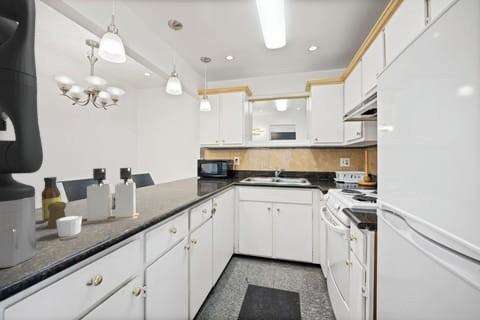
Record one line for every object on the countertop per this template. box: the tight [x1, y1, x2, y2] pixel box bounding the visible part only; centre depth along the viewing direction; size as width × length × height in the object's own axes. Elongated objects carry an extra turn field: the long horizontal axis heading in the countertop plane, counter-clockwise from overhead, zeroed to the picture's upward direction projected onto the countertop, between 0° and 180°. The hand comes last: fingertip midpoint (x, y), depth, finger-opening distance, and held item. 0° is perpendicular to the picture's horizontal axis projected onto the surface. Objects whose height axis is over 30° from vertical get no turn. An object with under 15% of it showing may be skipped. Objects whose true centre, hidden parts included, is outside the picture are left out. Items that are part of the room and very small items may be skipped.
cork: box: [46, 201, 67, 230], centre depth 74 cm, size 6×6×11 cm
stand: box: [81, 211, 140, 225], centre depth 85 cm, size 10×20×2 cm, turn 112°
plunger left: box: [92, 167, 107, 186], centre depth 83 cm, size 5×5×20 cm
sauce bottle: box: [41, 176, 62, 223], centre depth 85 cm, size 7×6×20 cm
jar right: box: [114, 182, 137, 219], centre depth 86 cm, size 7×7×15 cm
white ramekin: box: [56, 215, 83, 242], centre depth 67 cm, size 7×7×7 cm
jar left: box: [86, 183, 112, 222], centre depth 83 cm, size 7×7×15 cm
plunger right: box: [119, 167, 132, 185], centre depth 86 cm, size 5×5×20 cm
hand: (10, 132), depth 70 cm, fingers open, 8 cm apart
